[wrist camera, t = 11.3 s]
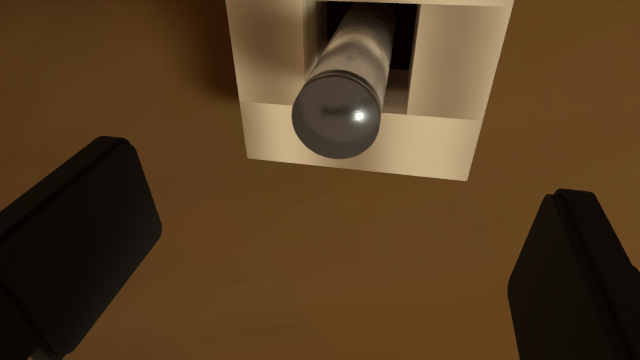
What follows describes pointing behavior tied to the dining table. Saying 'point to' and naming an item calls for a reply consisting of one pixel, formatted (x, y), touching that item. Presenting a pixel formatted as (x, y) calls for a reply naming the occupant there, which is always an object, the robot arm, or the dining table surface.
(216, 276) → the dining table surface
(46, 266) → the robot arm
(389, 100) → the square wooden hole block
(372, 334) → the dining table surface
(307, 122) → the peg
